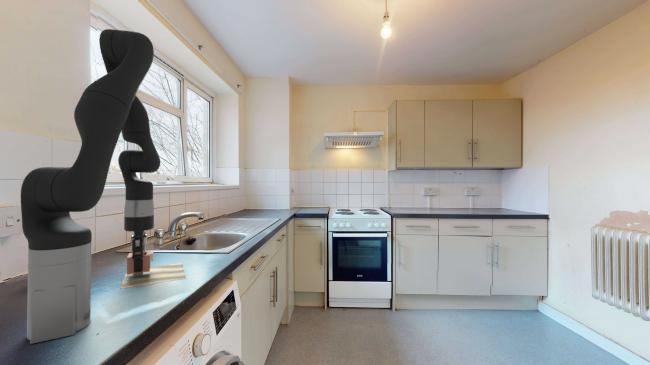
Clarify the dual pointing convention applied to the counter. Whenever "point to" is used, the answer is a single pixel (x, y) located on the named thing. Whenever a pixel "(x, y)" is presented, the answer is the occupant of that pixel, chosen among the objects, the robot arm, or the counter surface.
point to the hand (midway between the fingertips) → (139, 268)
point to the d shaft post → (137, 275)
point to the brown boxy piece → (146, 262)
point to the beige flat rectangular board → (155, 275)
